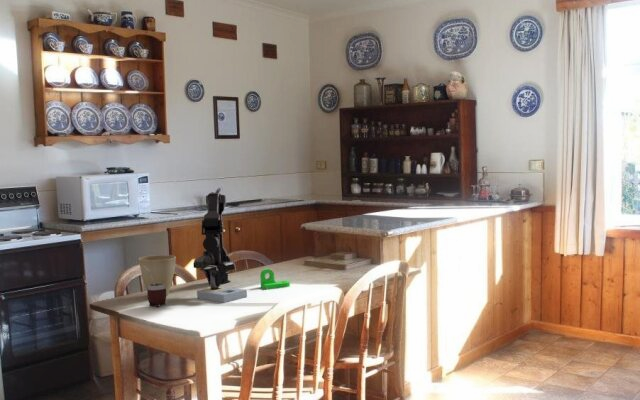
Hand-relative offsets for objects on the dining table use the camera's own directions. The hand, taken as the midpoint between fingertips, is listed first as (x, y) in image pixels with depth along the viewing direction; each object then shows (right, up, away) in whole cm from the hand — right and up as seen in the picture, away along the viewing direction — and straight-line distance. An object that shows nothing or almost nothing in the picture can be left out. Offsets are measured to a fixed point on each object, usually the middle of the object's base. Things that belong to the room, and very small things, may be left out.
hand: (214, 286), depth 265 cm
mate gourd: (-20, -6, -13) cm, 25 cm away
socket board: (+3, -4, -2) cm, 6 cm away
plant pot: (-24, -5, +5) cm, 25 cm away
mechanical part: (+24, -3, +17) cm, 29 cm away
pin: (0, -4, 0) cm, 4 cm away
